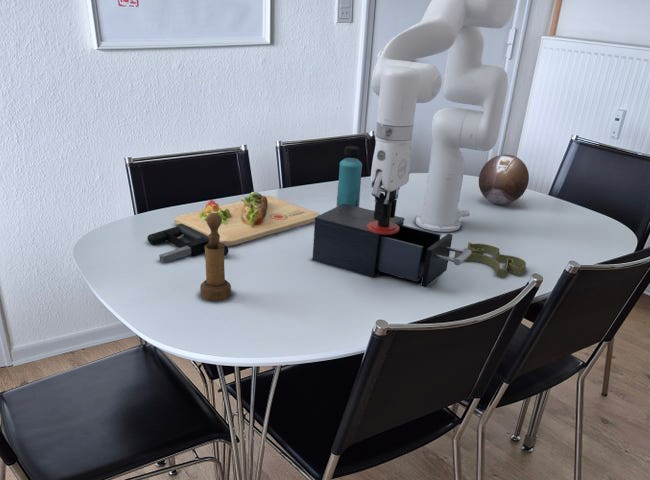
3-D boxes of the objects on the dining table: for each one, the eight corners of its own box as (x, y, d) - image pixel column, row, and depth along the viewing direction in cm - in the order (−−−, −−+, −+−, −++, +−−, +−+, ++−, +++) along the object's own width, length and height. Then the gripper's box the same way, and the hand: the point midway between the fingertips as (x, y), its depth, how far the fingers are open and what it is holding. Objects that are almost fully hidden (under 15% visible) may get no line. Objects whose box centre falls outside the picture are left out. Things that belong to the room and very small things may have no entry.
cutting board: (226, 249, 162) (225, 220, 158) (171, 223, 176) (169, 196, 172) (323, 220, 184) (324, 194, 180) (267, 200, 198) (268, 175, 194)
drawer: (470, 276, 153) (477, 240, 148) (450, 294, 143) (457, 257, 139) (388, 254, 162) (392, 219, 157) (364, 270, 153) (368, 233, 148)
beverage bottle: (356, 222, 184) (363, 150, 174) (333, 220, 185) (338, 148, 175) (359, 215, 189) (366, 145, 179) (337, 213, 190) (342, 143, 180)
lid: (360, 225, 146) (363, 197, 143) (387, 221, 149) (390, 194, 145) (378, 236, 140) (381, 207, 137) (405, 232, 143) (409, 204, 140)
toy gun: (176, 261, 148) (232, 242, 157) (131, 236, 160) (185, 219, 169) (178, 274, 150) (233, 255, 159) (133, 248, 162) (186, 232, 171)
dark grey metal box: (398, 259, 162) (404, 217, 156) (373, 277, 152) (378, 233, 146) (340, 244, 169) (343, 203, 164) (312, 260, 159) (314, 217, 153)
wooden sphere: (474, 207, 202) (483, 158, 194) (474, 193, 214) (483, 147, 206) (524, 213, 199) (535, 163, 191) (521, 199, 212) (531, 152, 204)
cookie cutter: (446, 257, 165) (448, 249, 164) (474, 247, 172) (475, 240, 171) (508, 281, 154) (510, 273, 153) (535, 269, 161) (536, 261, 160)
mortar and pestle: (201, 288, 142) (198, 208, 133) (231, 288, 143) (230, 208, 133) (199, 301, 136) (196, 218, 127) (230, 302, 137) (230, 219, 128)
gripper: (392, 142, 126) (382, 232, 136) (426, 128, 138) (415, 212, 148) (359, 135, 130) (351, 224, 139) (394, 123, 141) (385, 205, 151)
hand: (384, 217), depth 143 cm, fingers closed on lid, 2 cm apart
